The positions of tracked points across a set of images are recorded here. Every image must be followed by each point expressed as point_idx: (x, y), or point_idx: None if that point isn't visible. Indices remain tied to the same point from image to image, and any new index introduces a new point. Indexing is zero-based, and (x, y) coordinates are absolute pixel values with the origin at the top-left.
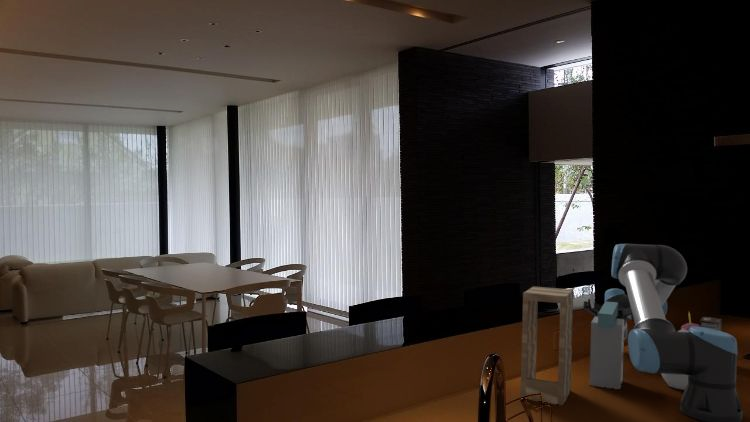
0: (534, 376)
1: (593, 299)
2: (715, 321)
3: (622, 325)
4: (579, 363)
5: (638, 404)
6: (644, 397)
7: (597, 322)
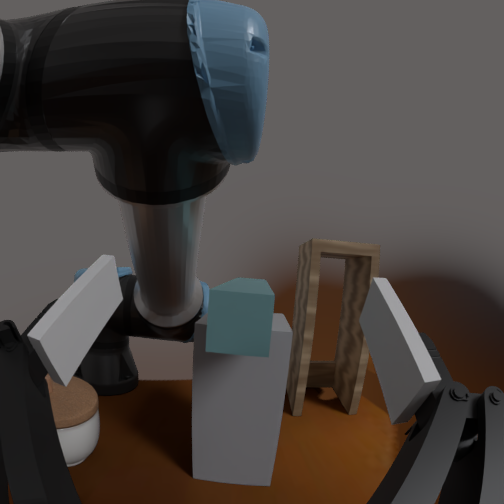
0: (349, 393)
1: (388, 331)
2: None
3: None
4: None
5: (188, 397)
6: (169, 415)
7: None
